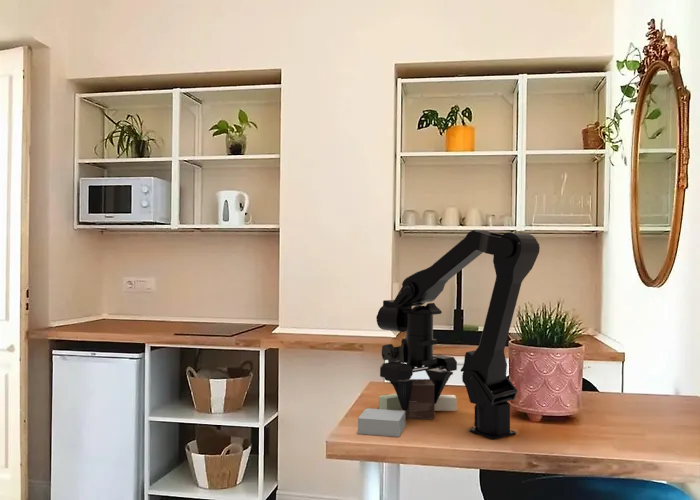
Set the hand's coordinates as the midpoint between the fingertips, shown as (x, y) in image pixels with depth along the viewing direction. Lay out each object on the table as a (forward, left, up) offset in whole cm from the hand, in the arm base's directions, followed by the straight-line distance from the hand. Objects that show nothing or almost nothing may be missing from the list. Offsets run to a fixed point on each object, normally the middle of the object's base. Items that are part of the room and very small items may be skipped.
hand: (419, 407), depth 135 cm
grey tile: (-5, +13, -2) cm, 14 cm away
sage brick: (+8, +1, -2) cm, 8 cm away
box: (0, 0, -2) cm, 2 cm away
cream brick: (+2, -8, -2) cm, 8 cm away
